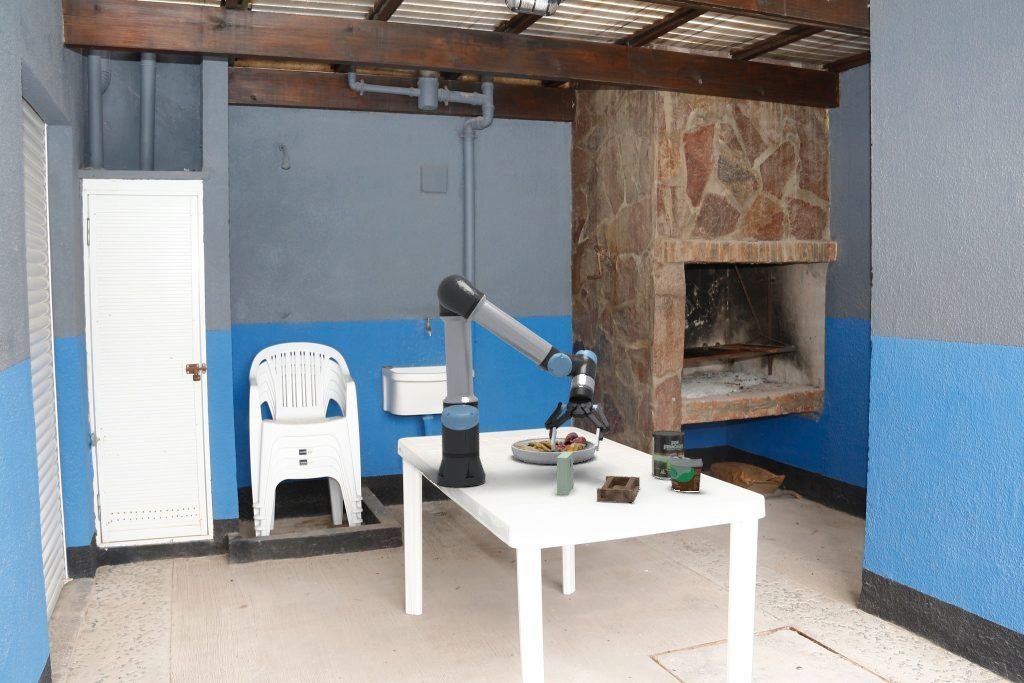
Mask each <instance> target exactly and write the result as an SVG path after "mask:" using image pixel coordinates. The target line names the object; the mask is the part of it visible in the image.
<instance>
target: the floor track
mask: <svg viewBox="0 0 1024 683" xmlns="http://www.w3.org/2000/svg"><path fill="white" fill-rule="evenodd" d="M640 479H641V478H640V477H639V476H623V475H622V476H620V475H605V482H604V483H603V485H602V486H601V487H597V488H596V502H600V501H616V502H615V503H619V502H633V503H634V501H635V500H636V497H637V495H638V493H639V491H640V489H639V488H641V487H640V484H641V482H640ZM638 490H639V491H638ZM637 492H638V493H637ZM636 494H637V495H636Z"/></svg>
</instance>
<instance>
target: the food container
mask: <svg viewBox="0 0 1024 683" xmlns="http://www.w3.org/2000/svg"><path fill="white" fill-rule="evenodd" d="M702 460H703V459H702V458H696V459H695V458H690V457H686V456H684V457H679V456H677V455H676V453H672V454H670V456H669V458H668V463H669V464H670V470H671V480H670V483H671V489H672V488H673V489H675V490H680V491H699V492H700V488H701V486H700V485H701V477H702V476H701V474H702V467H703V464H704V463H703V461H702ZM673 489H672V490H673Z"/></svg>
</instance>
